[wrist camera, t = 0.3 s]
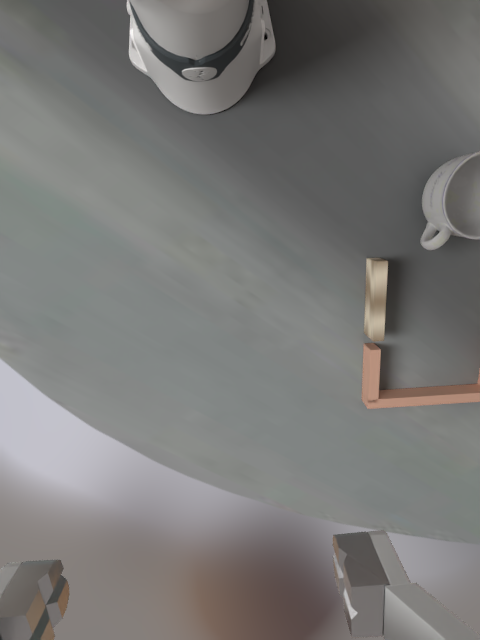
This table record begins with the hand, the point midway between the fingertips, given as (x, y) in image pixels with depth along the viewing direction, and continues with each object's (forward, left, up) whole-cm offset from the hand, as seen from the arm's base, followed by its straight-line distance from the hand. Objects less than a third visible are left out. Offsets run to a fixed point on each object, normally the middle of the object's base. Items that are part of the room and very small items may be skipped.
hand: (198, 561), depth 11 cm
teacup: (-9, +32, -47) cm, 58 cm away
